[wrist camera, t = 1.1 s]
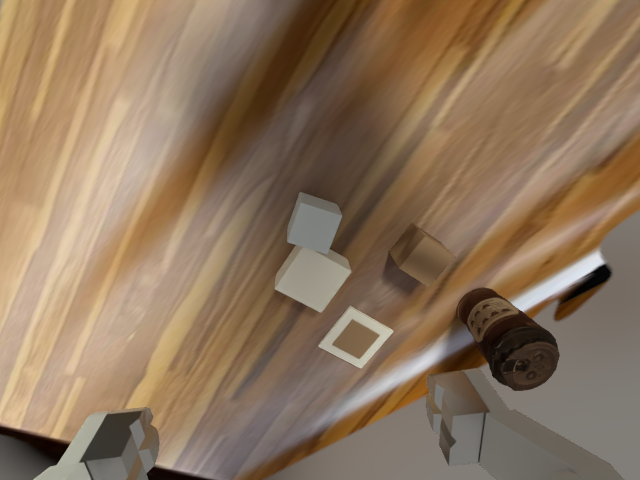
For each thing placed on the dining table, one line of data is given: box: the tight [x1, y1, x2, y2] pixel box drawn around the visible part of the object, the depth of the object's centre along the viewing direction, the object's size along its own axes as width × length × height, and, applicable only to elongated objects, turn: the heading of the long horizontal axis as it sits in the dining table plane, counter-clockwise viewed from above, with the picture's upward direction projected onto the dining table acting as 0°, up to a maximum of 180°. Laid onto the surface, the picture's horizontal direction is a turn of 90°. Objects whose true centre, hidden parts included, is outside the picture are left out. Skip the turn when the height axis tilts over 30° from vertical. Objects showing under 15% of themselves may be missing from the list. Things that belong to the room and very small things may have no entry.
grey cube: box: [287, 192, 342, 254], centre depth 44 cm, size 5×5×5 cm
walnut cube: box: [389, 223, 455, 287], centre depth 46 cm, size 5×5×5 cm
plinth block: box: [275, 245, 352, 313], centre depth 47 cm, size 7×7×4 cm
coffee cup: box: [457, 288, 559, 391], centre depth 47 cm, size 9×8×13 cm
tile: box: [318, 306, 394, 369], centre depth 53 cm, size 8×8×1 cm
